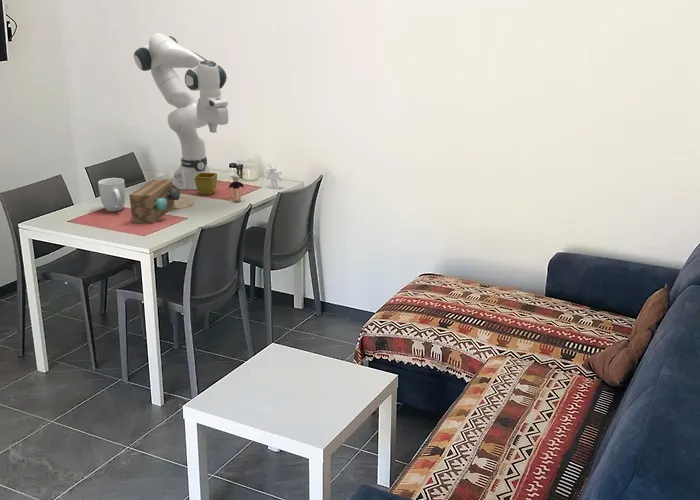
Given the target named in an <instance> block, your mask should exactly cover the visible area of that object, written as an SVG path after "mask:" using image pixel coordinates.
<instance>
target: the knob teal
mask: <svg viewBox="0 0 700 500" xmlns="http://www.w3.org/2000/svg"><path fill="white" fill-rule="evenodd" d="M154 204H155V206H156V209H157V210H166V208H167V200H166V198H157V200H156V202H154Z"/></svg>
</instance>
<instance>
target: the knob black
mask: <svg viewBox="0 0 700 500" xmlns="http://www.w3.org/2000/svg"><path fill="white" fill-rule="evenodd" d="M180 191H181V190H180V189H178V188H173V189H170V191H169V192H168V196H169V198H170V200H174V201H179V200H180V198H181V192H180Z"/></svg>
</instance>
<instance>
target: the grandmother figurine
mask: <svg viewBox="0 0 700 500" xmlns="http://www.w3.org/2000/svg"><path fill="white" fill-rule="evenodd" d="M231 178H232V182H231V183H230V184H229V185H228V187H227V191H229V192H230V191H231V199H232V200H231V203H235V202H237V203H240V202H242V200H241V198H242V197H241V194H242V192H241V188H242V190H246V188H245V185H244V184H243V183H242V182H241V181H239V180H240V176H239V175H238V174H236V173H235V174H233V175H232V177H231Z"/></svg>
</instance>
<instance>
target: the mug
mask: <svg viewBox="0 0 700 500" xmlns="http://www.w3.org/2000/svg"><path fill="white" fill-rule="evenodd" d="M97 185H98V193H99V197H100V201H101V203H102V205H103V208H104V209H105V211H107V212H120V211H122V210H123V209H124V207H125V203H126V184H125V179H123V178H120V177H119V178H118V177H110V178H109V177H108V178H104V179H100V180H99V181H98V182H97Z"/></svg>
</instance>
